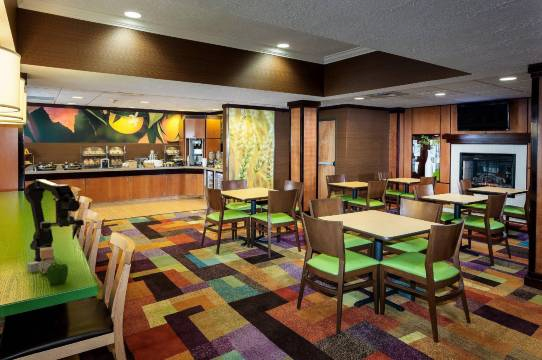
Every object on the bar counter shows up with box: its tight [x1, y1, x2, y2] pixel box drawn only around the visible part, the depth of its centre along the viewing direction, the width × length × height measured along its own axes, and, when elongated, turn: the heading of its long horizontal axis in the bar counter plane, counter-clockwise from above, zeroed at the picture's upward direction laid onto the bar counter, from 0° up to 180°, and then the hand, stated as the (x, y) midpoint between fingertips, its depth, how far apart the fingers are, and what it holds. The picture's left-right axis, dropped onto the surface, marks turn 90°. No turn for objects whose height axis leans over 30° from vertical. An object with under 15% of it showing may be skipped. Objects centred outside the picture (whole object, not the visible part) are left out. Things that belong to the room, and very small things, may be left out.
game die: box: [36, 256, 56, 275], centre depth 181 cm, size 9×8×10 cm
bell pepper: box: [46, 261, 69, 286], centre depth 169 cm, size 8×8×10 cm
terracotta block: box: [40, 246, 55, 259], centre depth 181 cm, size 5×5×4 cm
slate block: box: [26, 261, 41, 273], centre depth 185 cm, size 4×4×4 cm
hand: (62, 240), depth 192 cm, fingers open, 9 cm apart
